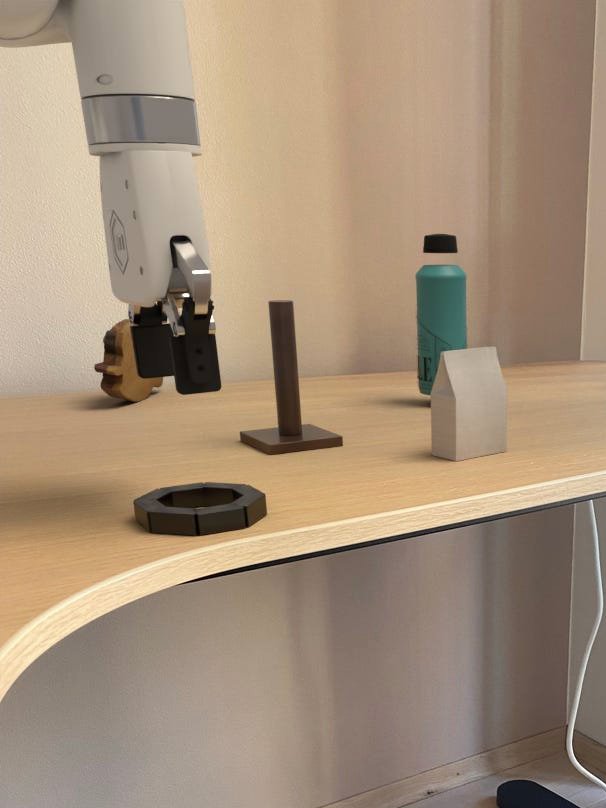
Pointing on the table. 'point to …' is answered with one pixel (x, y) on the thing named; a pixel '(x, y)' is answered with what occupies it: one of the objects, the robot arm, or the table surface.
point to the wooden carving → (123, 366)
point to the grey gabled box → (468, 405)
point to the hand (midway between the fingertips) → (178, 384)
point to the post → (287, 394)
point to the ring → (177, 514)
